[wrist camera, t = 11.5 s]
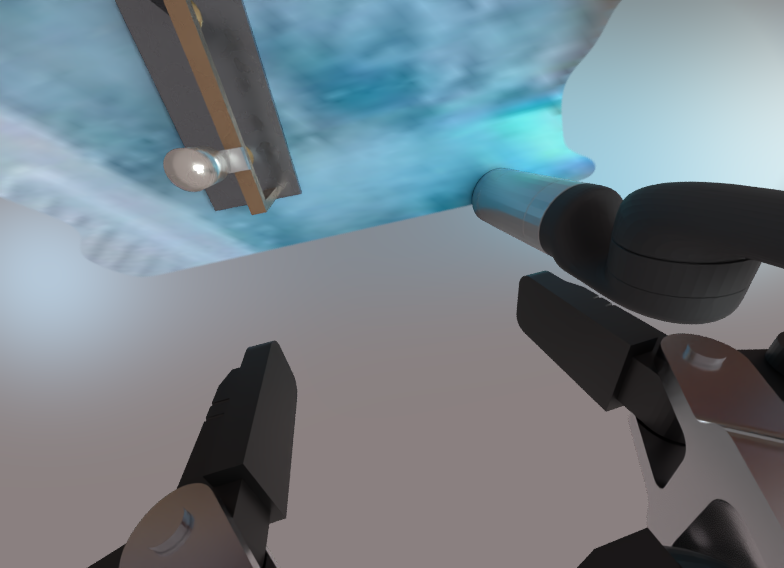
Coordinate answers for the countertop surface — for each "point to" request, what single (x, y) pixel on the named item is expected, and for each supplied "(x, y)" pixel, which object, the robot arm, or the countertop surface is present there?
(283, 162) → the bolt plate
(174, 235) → the countertop surface
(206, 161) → the grey elongated rounded piece
